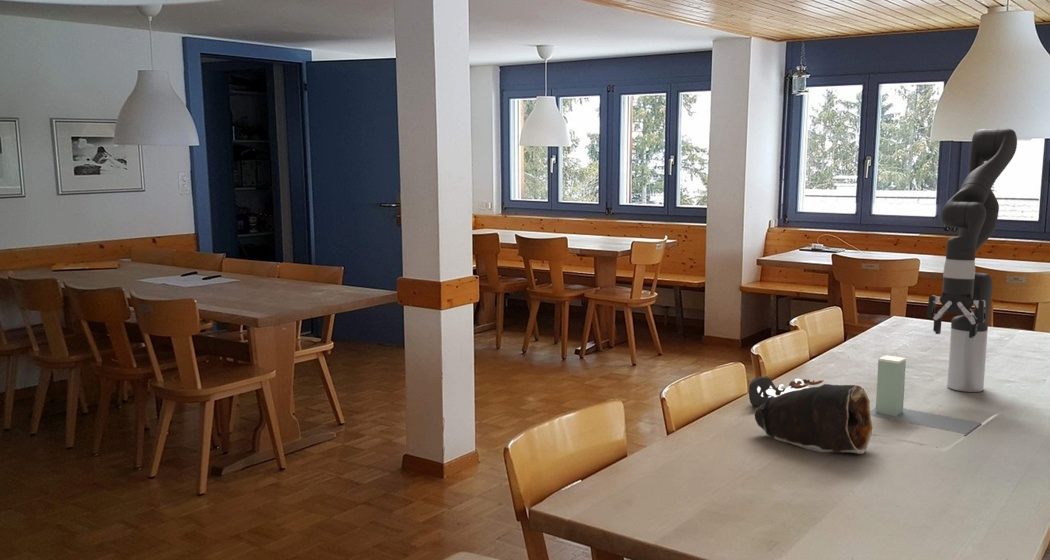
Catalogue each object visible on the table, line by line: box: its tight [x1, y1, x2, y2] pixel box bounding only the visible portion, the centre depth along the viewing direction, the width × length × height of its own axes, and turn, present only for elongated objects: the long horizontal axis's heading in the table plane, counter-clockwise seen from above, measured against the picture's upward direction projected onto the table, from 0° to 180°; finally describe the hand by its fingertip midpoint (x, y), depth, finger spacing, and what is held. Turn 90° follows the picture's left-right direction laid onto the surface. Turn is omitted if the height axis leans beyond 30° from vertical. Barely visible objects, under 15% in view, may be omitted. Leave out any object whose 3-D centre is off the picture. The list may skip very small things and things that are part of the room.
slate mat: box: [870, 407, 983, 437], centre depth 215 cm, size 12×24×1 cm, turn 47°
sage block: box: [875, 354, 907, 416], centre depth 219 cm, size 5×5×14 cm
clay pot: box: [754, 383, 873, 455], centre depth 197 cm, size 15×15×25 cm
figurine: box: [748, 375, 824, 408], centre depth 225 cm, size 14×10×18 cm
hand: (954, 335), depth 234 cm, fingers open, 8 cm apart
